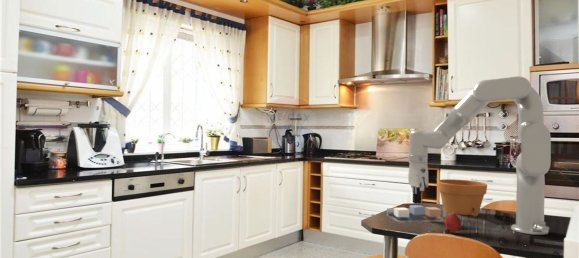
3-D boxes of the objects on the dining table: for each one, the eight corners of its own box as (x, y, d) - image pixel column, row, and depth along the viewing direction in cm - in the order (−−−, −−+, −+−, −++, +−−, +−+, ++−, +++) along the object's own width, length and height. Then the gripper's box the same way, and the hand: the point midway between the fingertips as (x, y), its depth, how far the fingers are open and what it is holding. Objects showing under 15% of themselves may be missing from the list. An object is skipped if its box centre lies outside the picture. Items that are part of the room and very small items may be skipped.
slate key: (425, 214, 179) (425, 207, 179) (414, 214, 179) (414, 207, 179) (420, 212, 184) (420, 205, 184) (409, 212, 183) (409, 205, 183)
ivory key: (409, 217, 178) (409, 209, 178) (398, 217, 178) (398, 209, 178) (404, 214, 183) (404, 207, 183) (393, 214, 182) (394, 207, 182)
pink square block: (440, 216, 180) (441, 209, 180) (430, 216, 180) (430, 209, 180) (435, 214, 185) (435, 207, 185) (424, 214, 184) (425, 207, 184)
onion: (447, 230, 166) (448, 209, 166) (462, 232, 163) (463, 211, 163) (442, 232, 162) (442, 211, 162) (457, 235, 158) (458, 214, 158)
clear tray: (449, 224, 176) (449, 213, 176) (398, 225, 173) (398, 214, 173) (434, 217, 189) (434, 207, 189) (386, 218, 186) (386, 208, 186)
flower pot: (477, 210, 206) (478, 179, 206) (493, 220, 186) (494, 186, 185) (432, 208, 209) (433, 178, 208) (443, 218, 188) (444, 184, 187)
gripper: (434, 161, 174) (433, 206, 174) (418, 158, 189) (417, 199, 189) (417, 161, 173) (416, 206, 173) (402, 158, 188) (401, 199, 188)
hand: (416, 202), depth 181 cm, fingers closed
